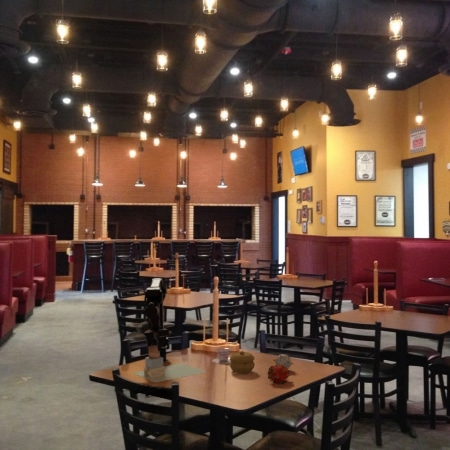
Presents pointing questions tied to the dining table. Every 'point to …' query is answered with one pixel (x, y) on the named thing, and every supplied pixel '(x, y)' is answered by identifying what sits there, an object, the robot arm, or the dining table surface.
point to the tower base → (154, 372)
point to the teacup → (222, 356)
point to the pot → (242, 362)
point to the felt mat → (173, 372)
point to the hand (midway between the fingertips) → (154, 349)
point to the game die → (283, 360)
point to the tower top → (153, 362)
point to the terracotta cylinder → (154, 352)
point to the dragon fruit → (278, 373)
